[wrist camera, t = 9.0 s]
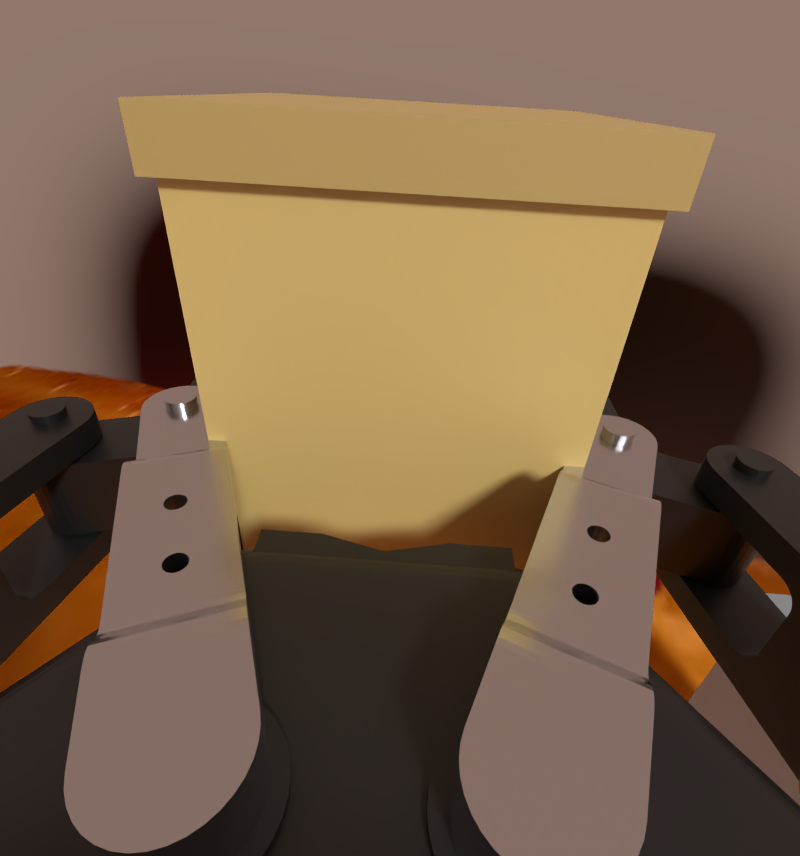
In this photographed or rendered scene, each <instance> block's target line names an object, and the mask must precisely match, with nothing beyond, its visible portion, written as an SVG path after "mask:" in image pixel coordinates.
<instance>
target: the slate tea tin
mask: <svg viewBox="0 0 800 856" xmlns="http://www.w3.org/2000/svg"><path fill="white" fill-rule="evenodd" d="M766 595H767V596H768V597H769V598H770V599H771V600H772V601H773V603H774V604H775V605H776V606H777V607H778V608H779V609H780V611H781V612H782V613H783V614H784V615H785V616H786V617H787V616H788V615H789V613H790V611H791V608H792V597H791V595H780V594H767V593H766ZM688 703H689V704H690V705H692V706H693V707H694V708H695V709H696V710H697V711H698V712H699V713H700V714H701V715H702V716H703V717H704V718H706V719H707V720H708V721H709V722H710V723H711V724H712V725H713V726H714V727H715V728H716V729H717V730H719V731H720V732H721V733H722V734H723V735H724V736H725V737H726V738H727V739H728V740H729V741H730V742H731V743H733V744H734V745H735V746H736V747H737V748H738V749H739V750H740V751H741V752H742V753H743V754H744V755H746V756H747V757H748V758H749V759H750V760H751V761H752V762H753V763H754V764H755V765H756V766H757V767H758V768H760V769H761V770H762V771H763V772H764V773H765V774H766V775H767V776H768V777H769V778H770V779H771V780H772V781H774V782H775V783H776V784H777V785H778V786H779V787H780V788H781V789H782V790H783V791H784V792H785V793H787V794H788V795H789V796H790V797H791V798H792V799H793V800H794V801H795V802H796V803H797V804H798V805H799V806H800V795H799V780H798V779H797V778H796V776H795V775H794V773H793V772H792V770H791V769H790V767H789V766H788V764H787V763H786V762H785V760H784V759H783V757H782V756H781V754H780V753H779V751H778V750H777V748H776V747H775V746H774V744H773V743H772V741H771V740H770V738H769V737H768V735H767V734H766V732H765V731H764V730H763V728H762V727H761V725H760V724H759V722H758V721H757V719H756V718H755V716H754V715H753V714H752V712H751V711H750V709H749V708H748V706H747V705H746V703H745V702H744V700H743V699H742V698H741V696H740V695H739V693H738V692H737V690H736V689H735V687H734V686H733V684H732V683H731V682H730V680H729V679H728V677H727V676H726V674H725V673H724V671H723V670H722V668H721V667H720V666H719V664H718V663H717V662H716V664H715V665H714V666H713V668H712V669H711V671H710V672H709V673H708V675H707V676H706V678H705V679H704V680H703V682H702V683H701V685H700V686H699V687H698V689H697V690H696V691H695V693H694V694H693V696H692V697H691V698H690V700H689V701H688Z"/></svg>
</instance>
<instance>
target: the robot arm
mask: <svg viewBox="0 0 800 856" xmlns="http://www.w3.org/2000/svg"><path fill="white" fill-rule="evenodd" d="M33 493H34V494H35V496H36V498H37V500H38V502H39V504H40V507H41V509H42V511H43V513H44V516H43V517H42V518H40V519H39V520H38V521H37V522H36V523H34V524H33V525H32V526H31V527H30V528H28V529H27V530H26V531H25V532H24V533H22V534H21V535H20V536H19V537H18V538H16V539H15V540H14V541H13V542H12V543H10V544H9V545H8V546H7V547H6V548H4V549H3V550H2V551H1V552H0V665H1V664H2V663H3V662H4V661H5V660H6V659H7V658H8V657H9V656H10V655H11V654H12V652H13V651H14V650H15V649H16V648H17V647H18V646H19V645H20V644H21V643H22V642H23V641H24V640H25V639H26V638H27V637H28V636H29V635H30V634H31V633H32V632H33V631H34V630H35V629H36V628H37V627H38V625H39V624H40V623H41V622H42V621H43V620H44V619H45V618H46V617H47V616H48V615H49V614H50V613H51V612H52V611H53V610H54V609H55V608H56V607H57V606H58V605H59V604H60V603H61V602H62V601H63V600H64V598H65V597H66V596H67V595H68V594H69V593H70V592H71V591H72V590H73V589H74V588H75V587H76V586H77V585H78V584H79V583H80V582H81V581H82V580H83V579H84V578H85V577H86V576H87V575H88V574H89V573H90V571H91V570H92V569H93V568H94V567H95V566H96V565H97V564H98V563H99V562H100V561H101V560H102V559H103V558H104V557H105V556H106V555H107V554H108V553H109V552H110V555H109V562H108V569H107V576H106V584H105V591H104V598H103V605H102V612H101V620H100V626H99V629H97V630H96V631H94V632H93V633H91V634H90V635H88V636H86V637H85V638H83V639H82V640H80V641H79V642H77V643H76V644H74V645H73V646H71V647H70V648H68V649H67V650H65V651H64V652H62V653H61V654H59V655H58V656H56V657H54V658H53V659H51V660H50V661H48V662H47V663H45V664H44V665H42V666H41V667H39V668H38V669H36V670H35V671H33V672H32V673H30V674H29V675H27V676H25V677H24V678H22V679H21V680H19V681H18V682H16V683H15V684H13V685H12V686H10V687H9V688H7V689H6V690H4V691H3V692H1V693H0V856H800V806H799V805H798V804H797V803H796V802H795V801H794V800H793V799H792V798H791V797H790V796H789V795H788V794H787V793H785V792H784V791H783V790H782V789H781V788H780V787H779V786H778V785H777V784H776V783H775V782H774V781H772V780H771V779H770V778H769V777H768V776H767V775H766V774H765V773H764V772H763V771H762V770H761V769H760V768H758V767H757V766H756V765H755V764H754V763H753V762H752V761H751V760H750V759H749V758H748V757H747V756H746V755H744V754H743V753H742V752H741V751H740V750H739V749H738V748H737V747H736V746H735V745H734V744H733V743H731V742H730V741H729V740H728V739H727V738H726V737H725V736H724V735H723V734H722V733H721V732H720V731H719V730H717V729H716V728H715V727H714V726H713V725H712V724H711V723H710V722H709V721H708V720H707V719H706V718H704V717H703V716H702V715H701V714H700V713H699V712H698V711H697V710H696V709H695V708H694V707H693V706H692V705H690V704H689V703H688V702H687V701H686V700H685V699H684V698H683V697H682V696H681V695H680V694H679V693H678V692H676V691H675V690H674V689H673V688H672V687H671V686H670V685H669V684H668V683H667V682H666V681H665V680H663V679H662V678H661V677H660V676H659V675H658V674H657V673H656V672H655V671H654V670H653V669H652V668H651V667H649V654H650V642H651V630H652V617H653V605H654V593H655V579H656V573H657V575H658V577H659V578H660V580H661V581H662V583H663V584H664V586H665V587H666V589H667V590H668V591H669V593H670V594H671V596H672V597H673V599H674V600H675V602H676V603H677V605H678V606H679V607H680V609H681V610H682V612H683V613H684V615H685V616H686V618H687V619H688V621H689V622H690V623H691V625H692V626H693V628H694V629H695V631H696V632H697V634H698V635H699V637H700V638H701V639H702V641H703V642H704V644H705V645H706V647H707V648H708V650H709V651H710V652H711V654H712V655H713V657H714V658H715V660H716V661H717V663H718V664H719V666H720V667H721V668H722V670H723V671H724V673H725V674H726V676H727V677H728V679H729V680H730V682H731V683H732V684H733V686H734V687H735V689H736V690H737V692H738V693H739V695H740V696H741V698H742V699H743V700H744V702H745V703H746V705H747V706H748V708H749V709H750V711H751V712H752V714H753V715H754V716H755V718H756V719H757V721H758V722H759V724H760V725H761V727H762V728H763V730H764V731H765V732H766V734H767V735H768V737H769V738H770V740H771V741H772V743H773V744H774V746H775V747H776V748H777V750H778V751H779V753H780V754H781V756H782V757H783V759H784V760H785V762H786V763H787V764H788V766H789V767H790V769H791V770H792V772H793V773H794V775H795V776H796V778H797V779H798V780H799V795H800V477H799V476H798V475H797V474H795V473H794V472H793V471H791V470H790V469H789V468H788V467H787V466H785V465H784V464H783V463H781V462H780V461H778V460H776V459H775V458H773V457H771V456H769V455H767V454H764V453H762V452H759V451H756V450H754V449H750V448H746V447H742V446H735V445H720V446H716V447H713V448H712V449H710V450H709V451H708V453H707V455H706V457H705V459H704V461H703V464H699V463H695V462H690V461H687V460H683V459H679V458H675V457H671V456H668V455H664V454H662V453H659V452H657V441H656V439H655V437H654V436H653V435H652V434H651V433H650V432H649V431H648V430H647V429H645V428H644V427H642V426H641V425H639V424H637V423H635V422H633V421H630V420H628V419H624V418H621V417H619V416H618V414H617V412H616V411H615V409H614V407H613V406H612V404H611V402H610V400H609V398H608V397H607V400H606V403H605V406H604V409H603V412H602V415H601V418H600V421H599V425H598V428H597V431H596V434H595V437H594V440H593V443H592V446H591V449H590V452H589V455H588V459H587V462H586V465H585V467H574V466H564V467H563V470H561V471H560V473H559V476H558V478H557V481H556V484H555V487H554V489H553V492H552V495H551V498H550V500H549V503H548V506H547V508H546V511H545V514H544V517H543V519H542V522H541V525H540V528H539V530H538V533H537V536H536V539H535V541H534V544H533V547H532V550H531V552H530V555H529V558H528V560H527V563H526V566H525V569H524V570H521V569H518V568H515V565H514V559H513V553H512V548H505V547H492V546H478V545H465V544H452V543H449V544H441V545H433V546H425V547H417V548H409V549H401V550H393V551H382V550H378V549H374V548H371V547H367V546H364V545H360V544H357V543H353V542H350V541H346V540H343V539H339V538H336V537H332V536H329V535H325V534H319V533H306V532H293V531H280V530H266V529H261V532H260V534H259V537H258V539H257V542H256V544H255V547H254V548H250V549H245V544H244V539H243V535H242V532H241V526H240V520H239V515H238V509H237V503H236V497H235V491H234V485H233V478H232V471H231V464H230V458H229V453H228V447H227V441H217V440H208V436H207V431H206V426H205V421H204V416H203V411H202V406H201V400H200V395H199V390H198V385H197V380H196V378H195V379H194V381H193V382H192V383H191V385H190V386H181V387H175V388H170V389H167V390H164V391H161V392H159V393H156V394H155V395H153V396H151V397H150V398H148V399H147V400H146V401H145V402H144V404H143V405H142V408H141V416H135V417H127V418H117V419H108V420H98V418H97V415H96V412H95V409H94V406H93V405H92V403H91V402H89V401H88V400H85V399H82V398H78V397H56V398H49V399H44V400H40V401H37V402H34V403H31V404H28V405H26V406H23V407H21V408H19V409H18V410H16V411H14V412H12V413H11V414H9V415H7V416H6V417H4V418H2V419H0V519H1V518H2V517H3V516H4V515H5V514H7V513H8V512H9V511H11V510H12V509H13V508H15V507H16V506H17V505H18V504H20V503H21V502H22V501H24V500H25V499H26V498H27V497H29V496H30V495H31V494H33ZM757 552H758V553H759V554H760V555H761V556H762V557H763V558H764V559H765V560H766V561H767V563H768V564H769V565H770V566H771V567H772V568H773V569H774V570H775V571H776V572H777V573H778V574H779V575H780V576H781V578H782V579H783V580H784V581H785V583H786V584H787V586H788V588H789V590H790V593H791V597H792V608H791V611H790V613H789V615H788V616H787V617H786V616H785V615H784V614H783V613H782V612H781V611H780V609H779V608H778V607H777V606H776V605H775V604H774V603H773V601H772V600H771V599H770V598H769V597H768V596H767V595H766V593H765V592H764V591H763V590H762V589H761V588H760V587H759V585H758V584H757V583H756V582H755V581H754V580H753V579H752V577H751V576H750V575H749V574H748V573H747V572H746V569H747V568H748V566H749V565H750V563H751V561H752V560H753V558H754V557H755V555H756V554H757Z"/></svg>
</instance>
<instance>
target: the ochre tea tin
mask: <svg viewBox="0 0 800 856" xmlns="http://www.w3.org/2000/svg"><path fill="white" fill-rule="evenodd" d="M118 100H119V105H120V109H121V114H122V118H123V123H124V128H125V132H126V137H127V141H128V146H129V150H130V155H131V160H132V164H133V169H134V173H135V176H139V177H155V178H156V179H157V184H158V189H159V194H160V199H161V204H162V209H163V214H164V219H165V224H166V229H167V235H168V240H169V245H170V250H171V254H172V260H173V265H174V270H175V274H176V280H177V285H178V290H179V295H180V300H181V304H182V310H183V315H184V320H185V325H186V330H187V335H188V340H189V345H190V350H191V355H192V360H193V365H194V370H195V375H196V380H197V385H198V390H199V395H200V400H201V406H202V411H203V416H204V421H205V426H206V431H207V436H208V440H217V441H227V447H228V453H229V458H230V464H231V471H232V478H233V485H234V491H235V497H236V503H237V509H238V515H239V520H240V526H241V532H242V535H243V539H244V544H245V549H250V548H254V547H255V544H256V542H257V539H258V537H259V534H260V532H261V529H266V530H280V531H293V532H306V533H319V534H325V535H329V536H332V537H336V538H339V539H343V540H346V541H350V542H353V543H357V544H360V545H364V546H367V547H371V548H374V549H378V550H382V551H393V550H401V549H409V548H417V547H425V546H433V545H441V544H449V543H452V544H465V545H478V546H492V547H505V548H512V553H513V559H514V565H515V568H518V569H521V570H524V569H525V566H526V563H527V560H528V558H529V555H530V552H531V550H532V547H533V544H534V541H535V539H536V536H537V533H538V530H539V528H540V525H541V522H542V519H543V517H544V514H545V511H546V508H547V506H548V503H549V500H550V498H551V495H552V492H553V489H554V487H555V484H556V481H557V478H558V476H559V473H560V471H561V470H563V467H564V466H574V467H585V465H586V462H587V459H588V455H589V452H590V449H591V446H592V443H593V440H594V437H595V434H596V431H597V428H598V425H599V421H600V418H601V415H602V412H603V409H604V406H605V403H606V400H607V397H608V393H609V391H610V388H611V384H612V381H613V378H614V375H615V372H616V369H617V366H618V363H619V360H620V357H621V353H622V350H623V347H624V344H625V341H626V338H627V335H628V332H629V329H630V326H631V323H632V320H633V317H634V313H635V310H636V307H637V304H638V301H639V298H640V295H641V292H642V289H643V286H644V283H645V279H646V276H647V273H648V270H649V267H650V264H651V261H652V258H653V255H654V251H655V249H656V245H657V242H658V239H659V236H660V233H661V230H662V227H663V224H664V221H665V218H666V215H667V212H668V210H671V211H687V212H688V211H689V209H690V207H691V204H692V201H693V198H694V195H695V192H696V189H697V187H698V184H699V181H700V178H701V175H702V172H703V169H704V166H705V164H706V161H707V158H708V155H709V152H710V149H711V146H712V143H713V140H714V138H715V135H716V134H715V133H708V132H702V131H696V130H689V129H683V128H677V127H671V126H664V125H658V124H652V123H646V122H640V121H633V120H626V119H621V118H615V117H608V116H602V115H595V114H590V113H583V112H577V111H564V110H563V111H562V110H547V109H530V108H513V107H497V106H482V105H463V104H448V103H432V102H415V101H399V100H383V99H366V98H348V97H333V96H317V95H301V94H284V93H249V94H213V95H180V96H179V95H175V96H140V97H139V96H138V97H118Z"/></svg>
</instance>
